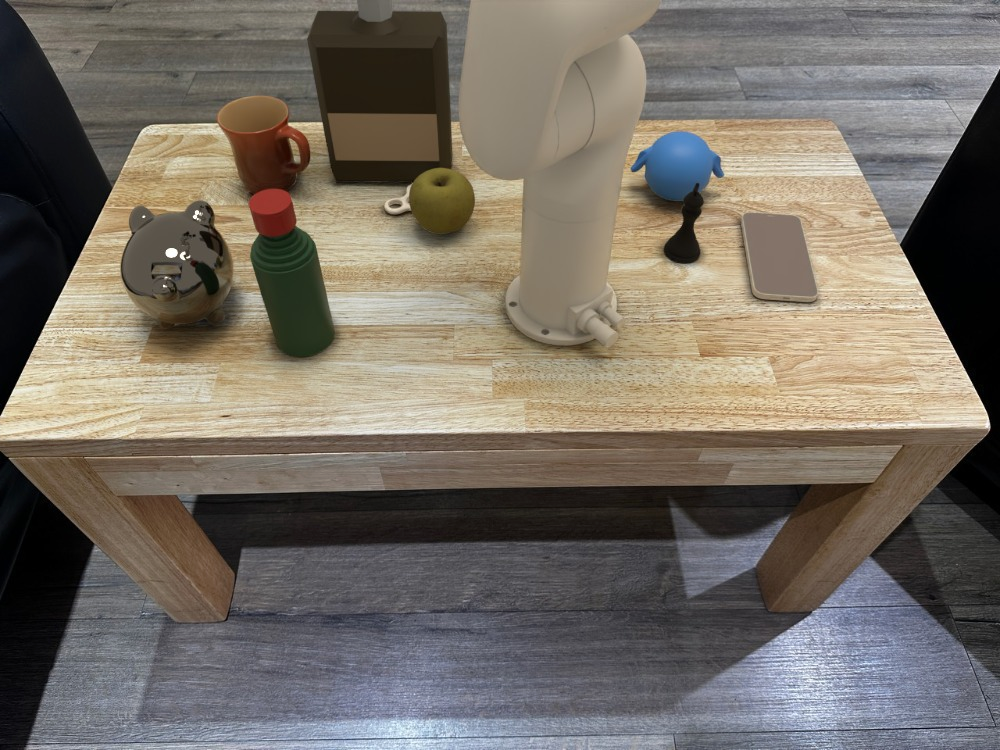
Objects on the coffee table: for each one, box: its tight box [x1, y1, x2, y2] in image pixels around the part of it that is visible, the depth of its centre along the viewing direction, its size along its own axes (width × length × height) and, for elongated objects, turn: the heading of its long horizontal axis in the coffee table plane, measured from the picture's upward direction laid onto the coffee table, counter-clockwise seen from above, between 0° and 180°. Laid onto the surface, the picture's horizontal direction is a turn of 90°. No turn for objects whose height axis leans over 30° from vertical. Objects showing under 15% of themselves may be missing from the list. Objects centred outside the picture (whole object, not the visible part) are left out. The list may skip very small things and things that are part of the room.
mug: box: [216, 94, 312, 195], centre depth 100 cm, size 12×9×10 cm
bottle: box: [306, 0, 454, 183], centre depth 97 cm, size 8×16×25 cm, turn 90°
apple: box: [408, 168, 476, 235], centre depth 96 cm, size 8×8×7 cm
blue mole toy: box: [630, 130, 725, 202], centre depth 101 cm, size 12×12×8 cm
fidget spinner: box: [383, 183, 412, 215], centre depth 101 cm, size 7×6×1 cm
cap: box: [248, 189, 298, 237], centre depth 73 cm, size 4×4×3 cm
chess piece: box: [663, 183, 705, 264], centre depth 92 cm, size 4×4×10 cm
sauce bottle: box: [249, 225, 336, 358], centre depth 80 cm, size 6×6×18 cm
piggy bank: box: [119, 199, 234, 330], centre depth 85 cm, size 11×15×12 cm
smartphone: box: [740, 211, 819, 303], centre depth 95 cm, size 7×1×15 cm
